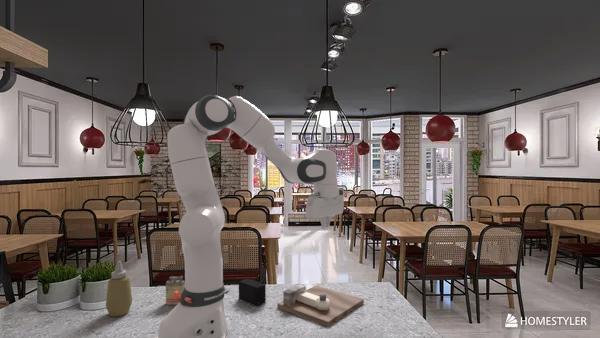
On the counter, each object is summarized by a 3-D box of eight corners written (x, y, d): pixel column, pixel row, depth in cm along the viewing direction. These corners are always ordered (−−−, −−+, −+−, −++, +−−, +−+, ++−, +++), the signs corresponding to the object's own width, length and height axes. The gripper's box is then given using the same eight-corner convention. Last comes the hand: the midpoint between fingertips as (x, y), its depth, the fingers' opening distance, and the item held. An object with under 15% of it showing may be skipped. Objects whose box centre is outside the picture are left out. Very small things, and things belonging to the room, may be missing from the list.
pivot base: (328, 326, 105) (328, 307, 105) (277, 307, 119) (277, 290, 119) (363, 303, 123) (363, 286, 122) (316, 289, 137) (315, 274, 137)
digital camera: (268, 302, 124) (268, 283, 124) (257, 306, 120) (257, 287, 120) (249, 295, 131) (249, 277, 130) (238, 299, 126) (238, 281, 126)
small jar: (164, 305, 121) (163, 277, 121) (168, 300, 125) (168, 274, 125) (183, 305, 121) (183, 278, 121) (187, 301, 125) (186, 274, 125)
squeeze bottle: (123, 306, 120) (123, 256, 120) (137, 311, 116) (137, 260, 116) (100, 315, 113) (100, 262, 113) (114, 320, 109) (113, 266, 109)
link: (332, 307, 115) (332, 300, 115) (323, 311, 111) (323, 304, 111) (295, 293, 127) (295, 287, 127) (286, 297, 124) (286, 290, 124)
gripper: (315, 194, 116) (315, 233, 116) (346, 190, 132) (346, 225, 132) (301, 193, 120) (301, 231, 120) (333, 189, 136) (333, 223, 136)
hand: (325, 228), depth 126 cm, fingers closed
